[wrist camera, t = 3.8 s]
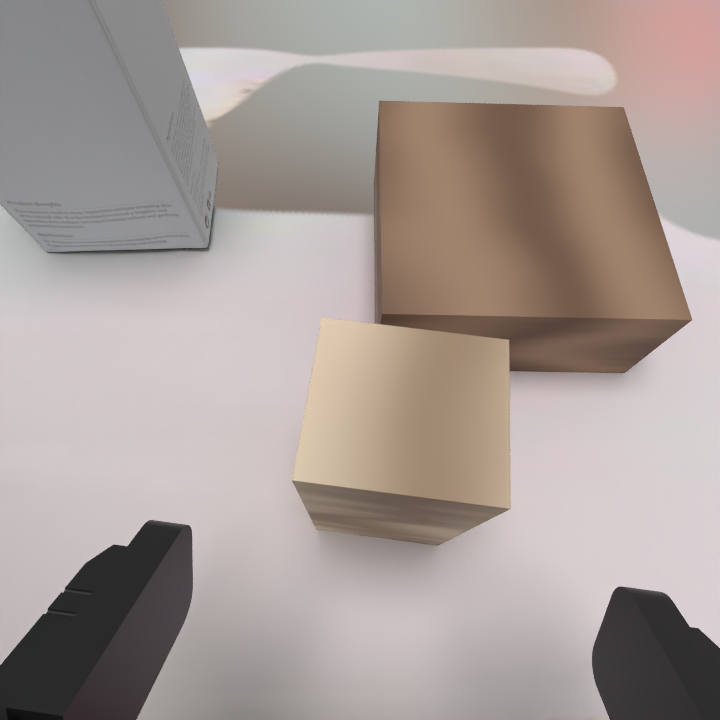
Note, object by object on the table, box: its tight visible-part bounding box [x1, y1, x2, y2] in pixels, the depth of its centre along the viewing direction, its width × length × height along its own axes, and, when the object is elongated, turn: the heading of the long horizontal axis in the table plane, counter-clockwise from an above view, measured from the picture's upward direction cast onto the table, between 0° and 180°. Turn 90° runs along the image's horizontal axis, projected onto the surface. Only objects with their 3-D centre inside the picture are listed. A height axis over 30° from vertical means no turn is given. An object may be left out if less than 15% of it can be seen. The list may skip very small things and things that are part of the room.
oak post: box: [292, 317, 511, 545], centre depth 15 cm, size 5×4×9 cm
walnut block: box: [374, 101, 692, 373], centre depth 22 cm, size 11×11×5 cm
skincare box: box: [0, 0, 218, 252], centre depth 18 cm, size 8×6×15 cm
